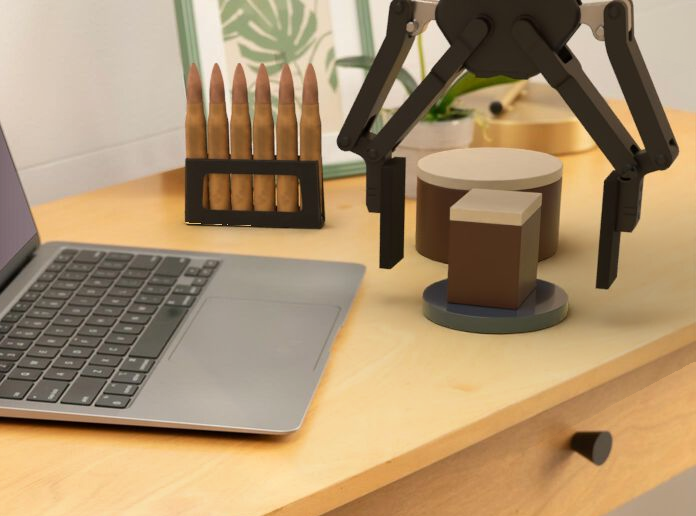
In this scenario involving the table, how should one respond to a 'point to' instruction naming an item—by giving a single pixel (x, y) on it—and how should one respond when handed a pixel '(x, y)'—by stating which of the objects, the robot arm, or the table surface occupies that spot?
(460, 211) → the cake slice
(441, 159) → the cake
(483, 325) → the plate
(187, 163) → the ammunition clip
